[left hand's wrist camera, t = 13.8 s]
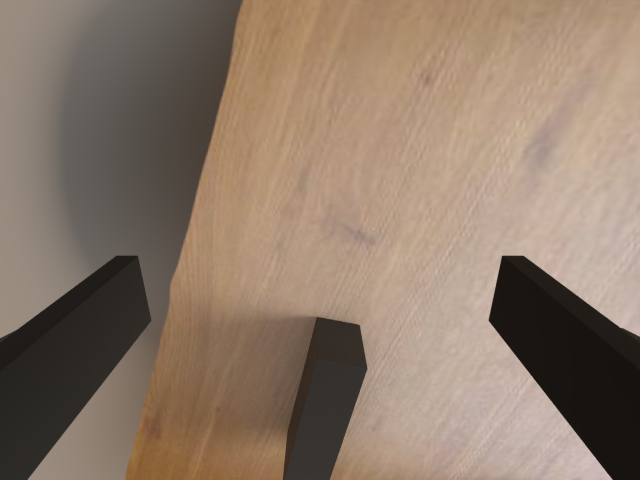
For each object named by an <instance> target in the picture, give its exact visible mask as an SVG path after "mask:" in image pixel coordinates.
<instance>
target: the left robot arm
mask: <svg viewBox="0 0 640 480" xmlns="http://www.w3.org/2000/svg"><path fill="white" fill-rule="evenodd" d="M150 322H151V317H150V312H149V307H148V302H147V297H146V293H145V288H144V283H143V278H142V274H141V269H140V264H139V259H138V256H116V257H114V258H113V259H112V260H110V261H109V262H108V263H106V264H105V265H104V266H102V267H101V268H99V269H98V270H97V271H95V272H94V273H93V274H91V275H90V276H89V277H87V278H86V279H85V280H83V281H82V282H81V283H79V284H78V285H77V286H75V287H74V288H73V289H71V290H70V291H69V292H67V293H66V294H65V295H63V296H62V297H61V298H59V299H58V300H57V301H55V302H54V303H53V304H51V305H50V306H48V307H47V308H46V309H45V310H43V311H42V312H40V313H39V314H38V315H36V316H35V317H34V318H32V319H31V320H30V321H28V322H27V323H26V324H24V325H23V326H22V327H20V328H19V329H18V330H16V331H14V332H12V333H10V334H8V335H6V336H4V337H2V338H0V480H28V478H29V477H30V476H31V474H32V473H33V472H34V471H35V469H36V468H37V467H38V465H39V464H40V463H41V462H42V460H43V459H44V458H45V456H46V455H47V454H48V453H49V451H50V450H51V449H52V447H53V446H54V445H55V444H56V442H57V441H58V440H59V438H60V437H61V436H62V435H63V433H64V432H65V431H66V429H67V428H68V427H69V426H70V424H71V423H72V422H73V420H74V419H75V418H76V417H77V415H78V414H79V413H80V411H81V410H82V409H83V408H84V406H85V405H86V404H87V402H88V401H89V400H90V399H91V397H92V396H93V395H94V394H95V392H96V391H97V390H98V388H99V387H100V386H101V385H102V383H103V382H104V381H105V379H106V378H107V377H108V376H109V374H110V373H111V372H112V370H113V369H114V368H115V367H116V365H117V364H118V363H119V361H120V360H121V359H122V358H123V356H124V355H125V354H126V352H127V351H128V350H129V349H130V347H131V346H132V345H133V343H134V342H135V341H136V340H137V338H138V337H139V336H140V334H141V333H142V332H143V331H144V329H145V328H146V327H147V325H148V324H149V323H150ZM489 322H490V323H491V324H492V326H493V327H494V328H495V329H496V331H497V332H498V333H499V335H500V336H501V337H502V338H503V340H504V341H505V342H506V343H507V345H508V346H509V347H510V349H511V350H512V351H513V352H514V354H515V355H516V356H517V358H518V359H519V360H520V361H521V363H522V364H523V365H524V367H525V368H526V369H527V370H528V372H529V373H530V374H531V376H532V377H533V378H534V379H535V381H536V382H537V383H538V385H539V386H540V387H541V388H542V390H543V391H544V392H545V394H546V395H547V396H548V397H549V399H550V400H551V401H552V403H553V404H554V405H555V406H556V408H557V409H558V410H559V412H560V413H561V414H562V415H563V417H564V418H565V419H566V420H567V422H568V423H569V424H570V426H571V427H572V428H573V429H574V431H575V432H576V433H577V435H578V436H579V437H580V438H581V440H582V441H583V442H584V444H585V445H586V446H587V447H588V449H589V450H590V451H591V453H592V454H593V455H594V456H595V458H596V459H597V460H598V462H599V463H600V464H601V465H602V467H603V468H604V469H605V471H606V472H607V473H608V474H609V476H610V477H611V478H612V480H640V337H639V336H637V335H635V334H633V333H631V332H629V331H627V330H625V329H623V328H620V327H618V326H617V325H616V324H614V323H613V322H612V321H610V320H609V319H608V318H606V317H605V316H604V315H602V314H601V313H600V312H598V311H597V310H596V309H594V308H593V307H592V306H590V305H589V304H588V303H586V302H585V301H583V300H582V299H581V298H579V297H578V296H577V295H575V294H574V293H573V292H571V291H570V290H569V289H567V288H566V287H565V286H563V285H562V284H561V283H559V282H558V281H557V280H555V279H554V278H553V277H551V276H550V275H549V274H547V273H546V272H545V271H543V270H542V269H541V268H539V267H538V266H537V265H535V264H534V263H532V262H531V261H530V260H528V259H527V258H526V257H524V256H502V259H501V264H500V269H499V273H498V278H497V283H496V288H495V293H494V297H493V302H492V307H491V312H490V316H489Z"/></svg>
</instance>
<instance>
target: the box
mask: <svg viewBox="0 0 640 480" xmlns="http://www.w3.org/2000/svg"><path fill="white" fill-rule="evenodd" d="M366 371H367V364H366V358H365V353H364V347H363V341H362V336H361V330H360V325H356V324H351V323H345V322H340V321H335V320H329V319H324V318H319V317H317V319H316V323H315V327H314V331H313V335H312V339H311V343H310V347H309V351H308V355H307V359H306V362H305V366H304V370H303V374H302V378H301V382H300V386H299V390H298V394H297V398H296V402H295V405H294V409H293V413H292V417H291V421H290V425H289V429H288V433H287V443H286V453H285V463H284V473H283V480H330V477H331V474H332V471H333V468H334V465H335V462H336V459H337V456H338V454H339V451H340V448H341V445H342V442H343V439H344V436H345V433H346V430H347V427H348V424H349V421H350V418H351V415H352V412H353V409H354V406H355V403H356V401H357V398H358V395H359V392H360V389H361V386H362V383H363V380H364V377H365V374H366Z"/></svg>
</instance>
